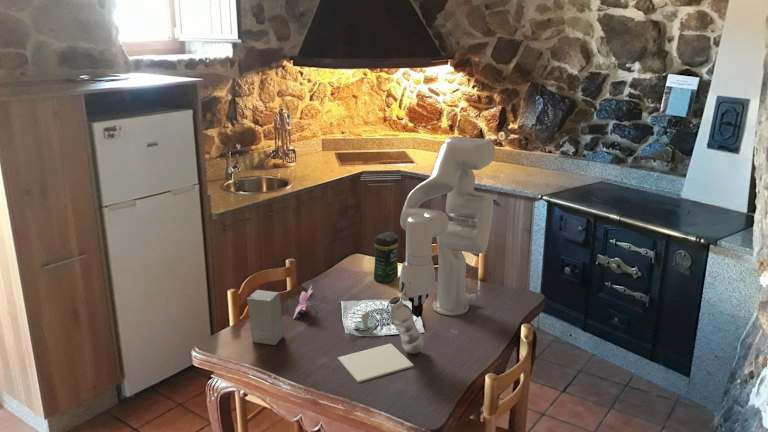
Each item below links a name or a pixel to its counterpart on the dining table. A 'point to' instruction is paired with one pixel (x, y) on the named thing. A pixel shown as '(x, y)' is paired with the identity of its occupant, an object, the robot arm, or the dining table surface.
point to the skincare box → (265, 317)
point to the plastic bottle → (405, 326)
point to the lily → (304, 301)
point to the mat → (374, 362)
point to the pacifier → (365, 322)
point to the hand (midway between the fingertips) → (417, 315)
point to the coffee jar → (386, 257)
